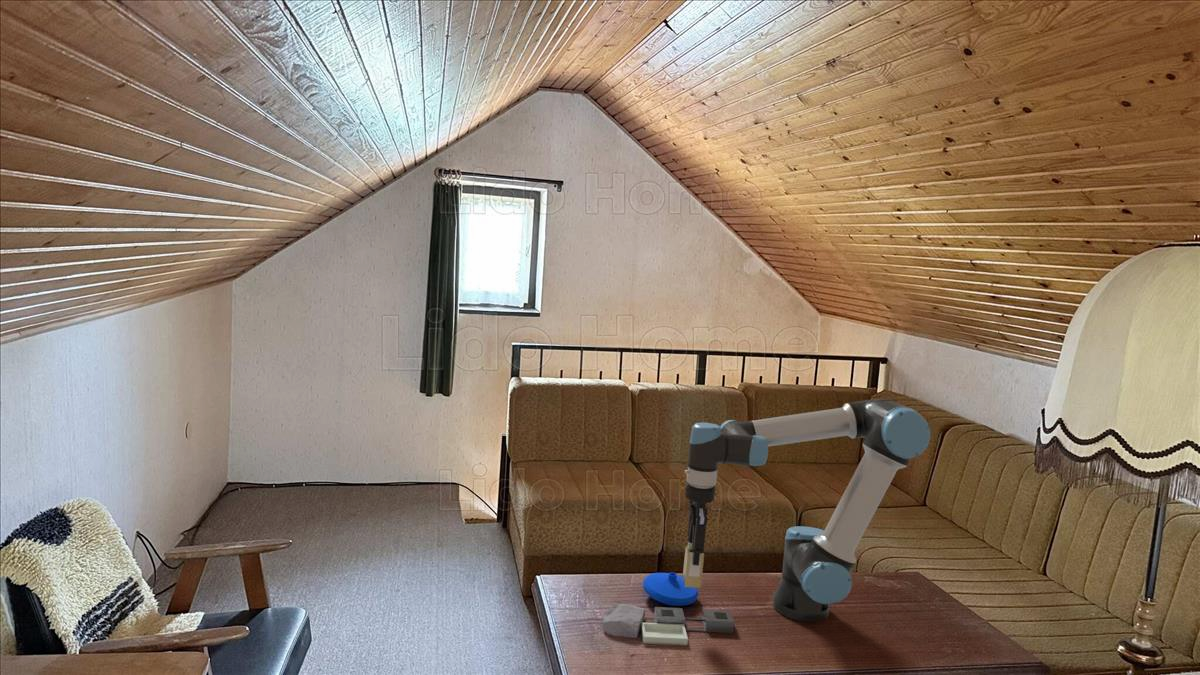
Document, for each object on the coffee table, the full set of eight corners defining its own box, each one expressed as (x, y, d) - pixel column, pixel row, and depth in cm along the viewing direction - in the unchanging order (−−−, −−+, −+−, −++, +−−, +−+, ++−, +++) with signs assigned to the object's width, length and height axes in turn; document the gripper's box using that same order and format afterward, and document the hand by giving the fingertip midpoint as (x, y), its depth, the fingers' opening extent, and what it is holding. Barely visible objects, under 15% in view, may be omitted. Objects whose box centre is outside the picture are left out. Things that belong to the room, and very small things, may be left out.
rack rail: (728, 621, 192) (729, 610, 192) (733, 633, 186) (734, 621, 186) (653, 617, 191) (654, 606, 191) (656, 629, 186) (657, 618, 185)
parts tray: (683, 631, 186) (683, 624, 185) (687, 645, 179) (687, 638, 178) (640, 629, 185) (641, 622, 185) (643, 643, 178) (643, 636, 178)
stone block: (601, 641, 182) (640, 640, 180) (598, 622, 182) (637, 621, 180) (610, 620, 194) (647, 619, 191) (608, 602, 193) (645, 601, 191)
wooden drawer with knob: (698, 580, 189) (701, 547, 188) (700, 587, 185) (704, 554, 184) (682, 579, 189) (685, 546, 188) (684, 586, 185) (687, 552, 184)
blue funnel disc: (644, 578, 211) (648, 556, 210) (697, 591, 209) (702, 568, 208) (637, 604, 196) (642, 580, 195) (695, 618, 194) (700, 593, 193)
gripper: (681, 472, 192) (674, 556, 195) (690, 494, 175) (682, 585, 178) (709, 474, 192) (701, 558, 195) (721, 496, 175) (712, 587, 178)
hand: (692, 571), depth 186 cm, fingers closed on wooden drawer with knob, 4 cm apart
